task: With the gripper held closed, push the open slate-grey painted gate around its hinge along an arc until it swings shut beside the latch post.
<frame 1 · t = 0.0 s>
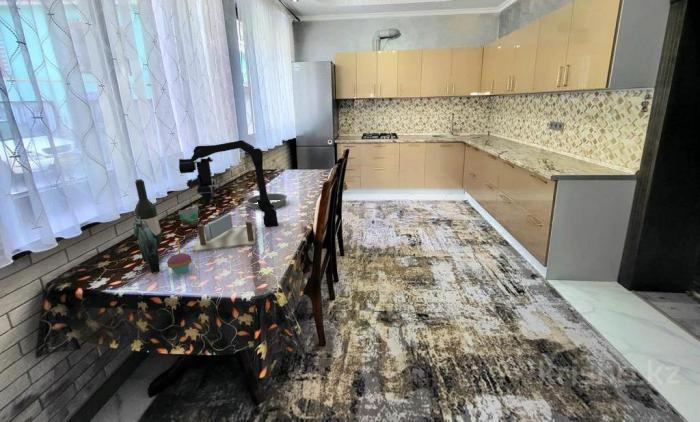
hand: (209, 203, 174), 15 cm above the table, tool pointing down, fingers open, 9 cm apart
base board: (227, 239, 166), on the table
latch post: (251, 242, 161), resting on base board
wine bottle: (152, 242, 166), on the table
hinge post: (203, 246, 159), resting on base board
gate: (218, 226, 165), point 6 cm above the table, hinge at 60.0°
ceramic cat: (152, 265, 142), on the table
food container: (193, 225, 188), on the table
cupcake: (181, 272, 135), on the table
cake pan: (267, 205, 222), on the table
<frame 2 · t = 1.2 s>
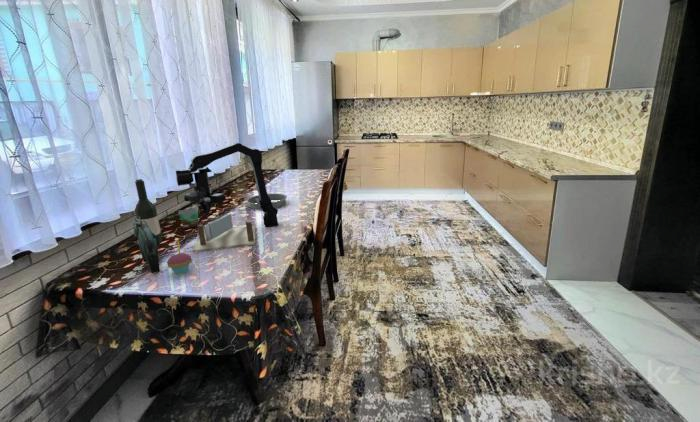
hand: (207, 215, 167), 11 cm above the table, tool pointing down, fingers closed
nothing on the table moved.
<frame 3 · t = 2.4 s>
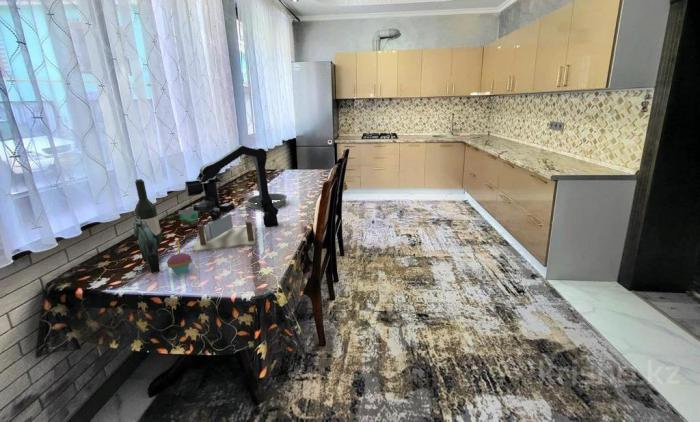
hand: (216, 224, 168), 6 cm above the table, tool pointing down, fingers closed
gate: (218, 226, 165), point 6 cm above the table, hinge at 60.0°, touching gripper
everything else where it was.
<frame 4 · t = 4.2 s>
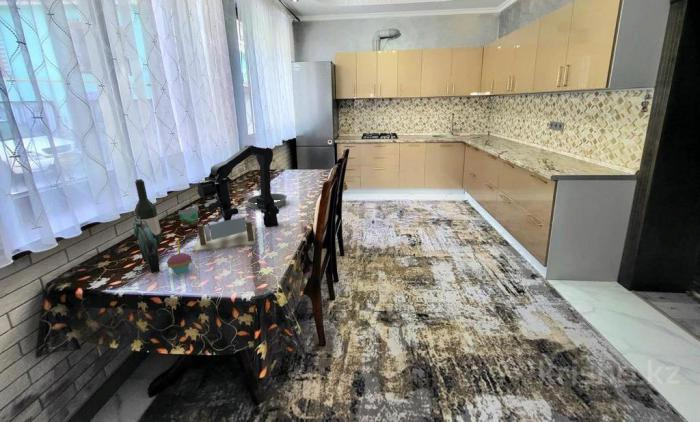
hand: (227, 225, 165), 7 cm above the table, tool pointing down, fingers closed
gate: (225, 228, 163), point 6 cm above the table, hinge at 25.1°, touching gripper
everything else where it was.
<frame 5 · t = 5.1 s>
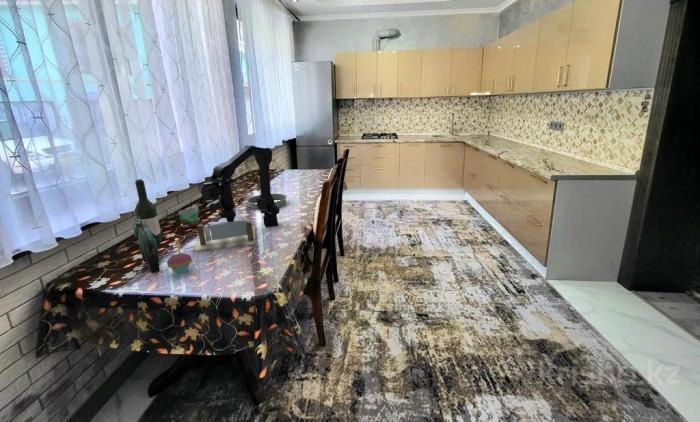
hand: (230, 226, 163), 7 cm above the table, tool pointing down, fingers closed
gate: (227, 230, 160), point 6 cm above the table, hinge at 6.6°, touching gripper
everything else where it was.
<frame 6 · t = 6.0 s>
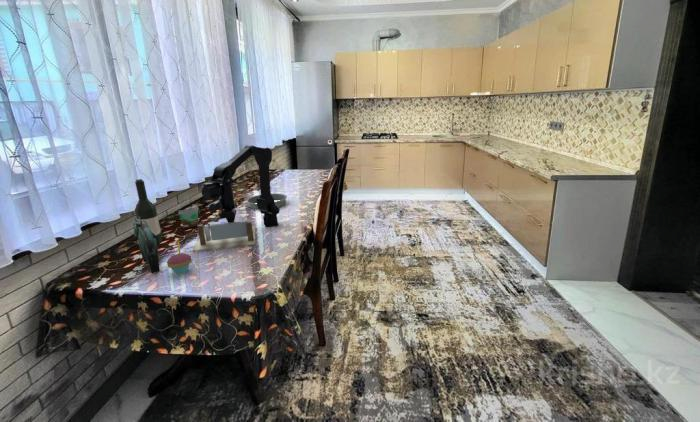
hand: (231, 227, 162), 6 cm above the table, tool pointing down, fingers closed
gate: (226, 230, 159), point 6 cm above the table, hinge at 0.0°
everything else where it was.
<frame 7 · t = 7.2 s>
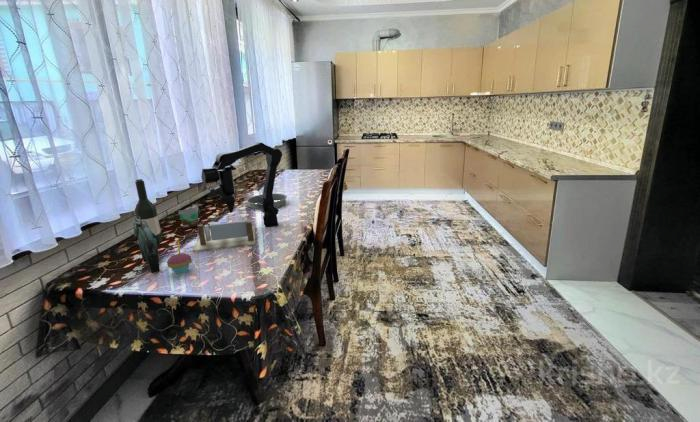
hand: (231, 212, 170), 11 cm above the table, tool pointing down, fingers closed
nothing on the table moved.
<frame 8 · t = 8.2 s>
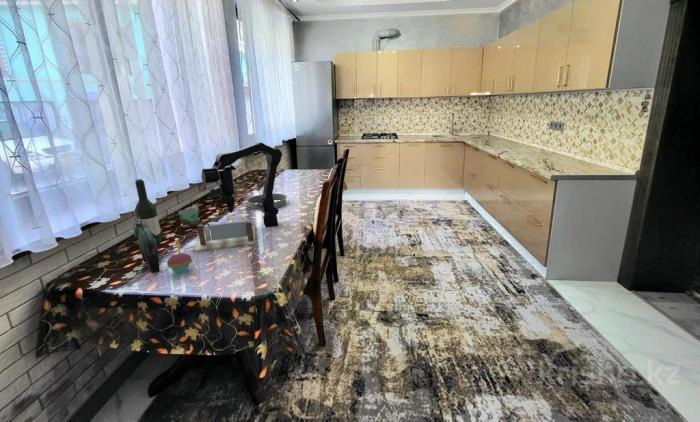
hand: (231, 212, 170), 11 cm above the table, tool pointing down, fingers closed
nothing on the table moved.
at the end: gate at +0° (first picture: +60°); food container moved 0.2 cm from its start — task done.
